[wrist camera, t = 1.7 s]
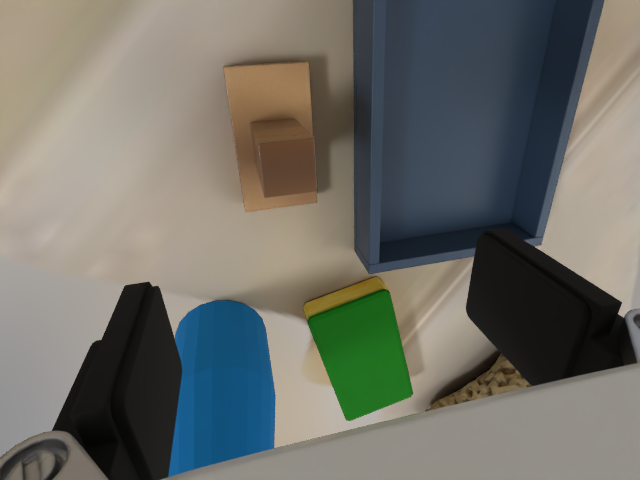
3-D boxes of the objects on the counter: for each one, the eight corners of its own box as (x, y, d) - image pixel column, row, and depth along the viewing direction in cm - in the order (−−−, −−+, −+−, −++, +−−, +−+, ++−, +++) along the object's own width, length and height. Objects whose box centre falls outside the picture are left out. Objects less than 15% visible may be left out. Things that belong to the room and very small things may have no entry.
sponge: (440, 432, 47) (607, 376, 42) (458, 495, 40) (661, 438, 35) (395, 359, 43) (574, 288, 38) (406, 416, 36) (628, 337, 31)
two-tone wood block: (223, 66, 23) (222, 74, 16) (304, 61, 24) (334, 66, 17) (244, 204, 27) (250, 254, 20) (312, 195, 28) (339, 241, 21)
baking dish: (351, -192, 19) (376, -238, 16) (597, -178, 21) (660, -216, 18) (354, 251, 31) (369, 274, 28) (511, 226, 33) (541, 245, 30)
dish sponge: (379, 274, 32) (389, 290, 30) (404, 377, 39) (414, 396, 37) (301, 303, 32) (306, 321, 30) (340, 403, 39) (347, 423, 37)
